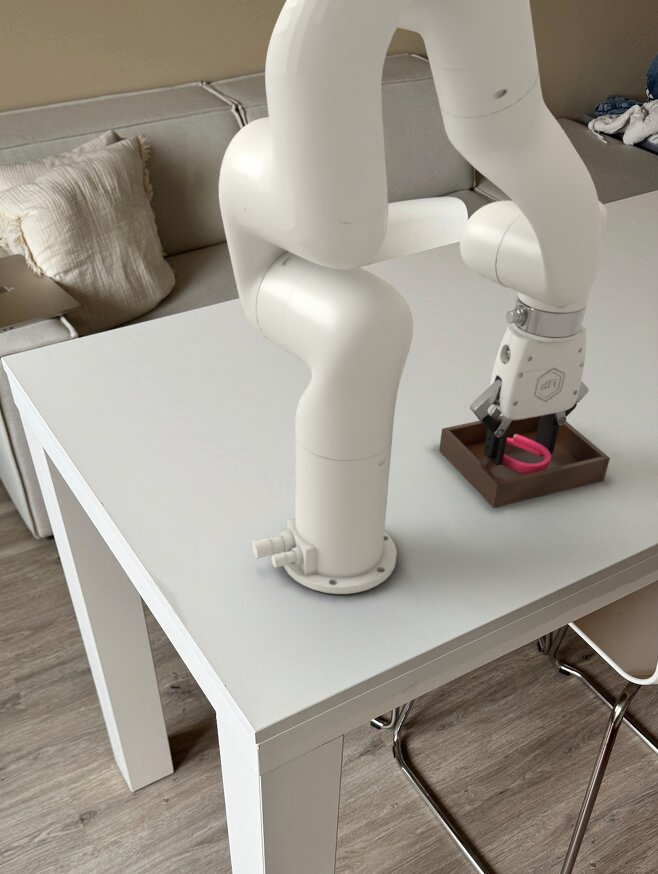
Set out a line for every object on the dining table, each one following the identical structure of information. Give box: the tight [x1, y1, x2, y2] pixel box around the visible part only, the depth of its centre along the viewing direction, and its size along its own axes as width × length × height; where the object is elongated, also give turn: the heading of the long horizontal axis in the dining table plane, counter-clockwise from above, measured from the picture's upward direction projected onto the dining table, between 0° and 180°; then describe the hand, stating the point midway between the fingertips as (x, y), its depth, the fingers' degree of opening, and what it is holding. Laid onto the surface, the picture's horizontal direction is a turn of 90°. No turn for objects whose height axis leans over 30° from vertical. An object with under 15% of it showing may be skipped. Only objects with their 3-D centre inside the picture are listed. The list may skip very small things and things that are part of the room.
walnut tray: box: [438, 415, 611, 509], centre depth 111 cm, size 16×13×3 cm
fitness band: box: [501, 434, 551, 474], centre depth 110 cm, size 8×6×2 cm
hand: (518, 453), depth 110 cm, fingers closed on fitness band, 6 cm apart
